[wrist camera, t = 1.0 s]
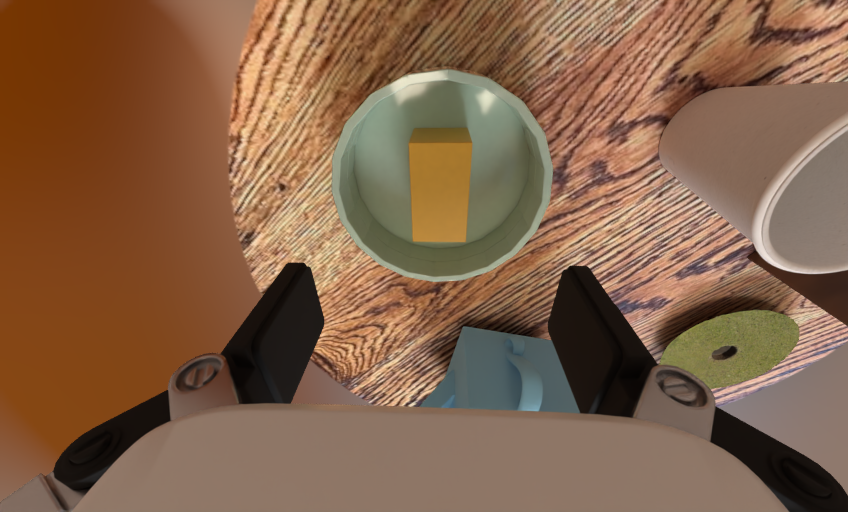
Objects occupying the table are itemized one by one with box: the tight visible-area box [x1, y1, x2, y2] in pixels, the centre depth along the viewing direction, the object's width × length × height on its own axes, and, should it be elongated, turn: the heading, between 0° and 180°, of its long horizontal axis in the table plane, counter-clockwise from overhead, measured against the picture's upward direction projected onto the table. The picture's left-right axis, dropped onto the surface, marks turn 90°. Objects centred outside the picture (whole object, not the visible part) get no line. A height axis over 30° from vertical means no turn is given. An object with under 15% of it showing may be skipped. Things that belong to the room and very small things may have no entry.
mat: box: [660, 310, 799, 389], centre depth 30 cm, size 11×11×2 cm
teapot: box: [419, 326, 580, 413], centre depth 29 cm, size 16×18×11 cm
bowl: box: [332, 66, 553, 282], centre depth 21 cm, size 13×13×4 cm
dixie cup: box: [659, 82, 848, 274], centre depth 16 cm, size 8×8×10 cm
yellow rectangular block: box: [408, 128, 473, 242], centre depth 21 cm, size 6×4×4 cm, turn 1°
